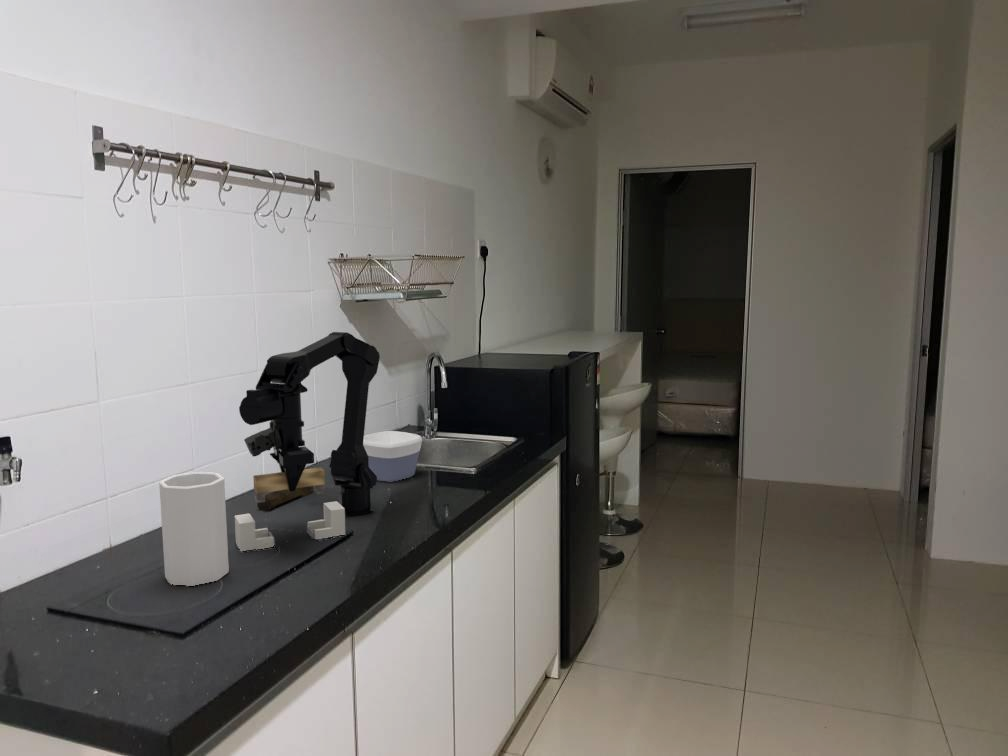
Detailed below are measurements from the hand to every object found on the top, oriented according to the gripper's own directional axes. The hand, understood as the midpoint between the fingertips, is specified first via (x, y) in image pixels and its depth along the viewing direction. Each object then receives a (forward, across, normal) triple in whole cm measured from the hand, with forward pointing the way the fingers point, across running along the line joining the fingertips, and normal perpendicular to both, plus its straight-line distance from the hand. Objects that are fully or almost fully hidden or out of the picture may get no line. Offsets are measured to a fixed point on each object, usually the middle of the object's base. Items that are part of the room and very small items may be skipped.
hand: (290, 489), depth 161 cm
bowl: (+12, -38, +36) cm, 54 cm away
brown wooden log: (+12, -29, +6) cm, 32 cm away
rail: (+2, 0, 0) cm, 2 cm away
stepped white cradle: (+11, 0, 0) cm, 11 cm away
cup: (+11, +11, -20) cm, 26 cm away
